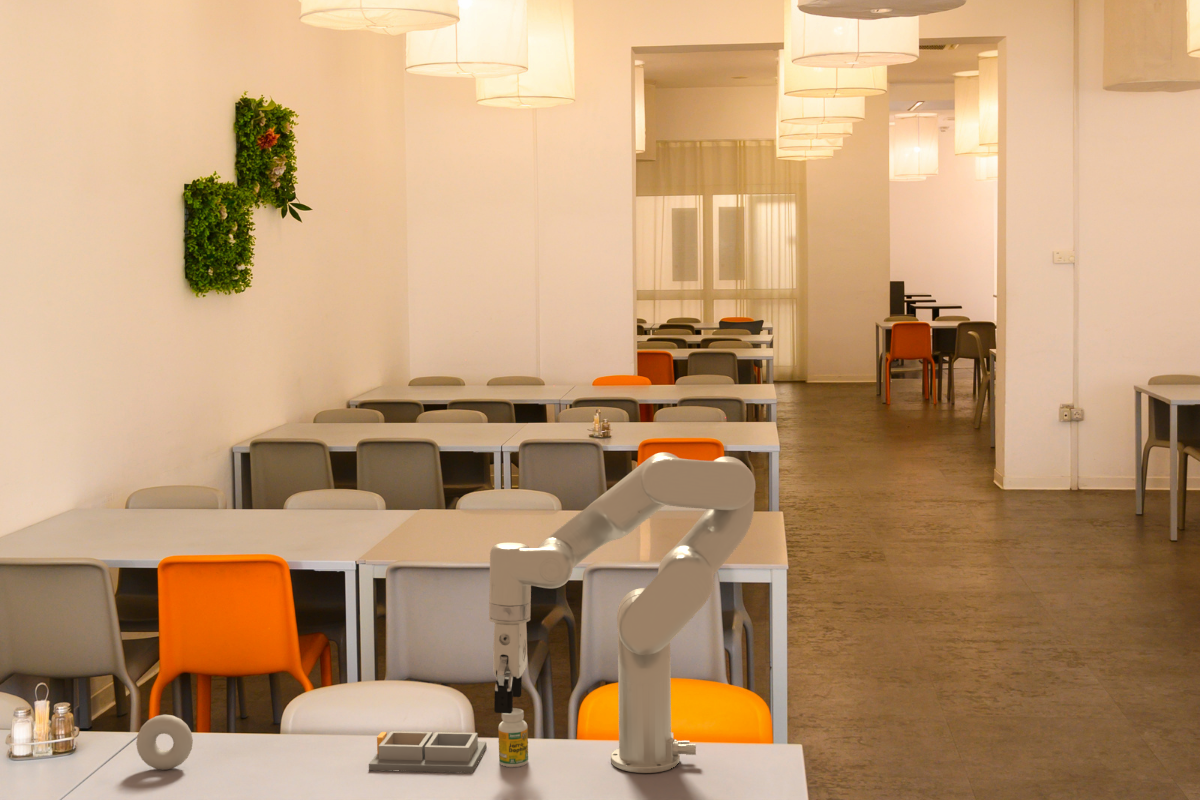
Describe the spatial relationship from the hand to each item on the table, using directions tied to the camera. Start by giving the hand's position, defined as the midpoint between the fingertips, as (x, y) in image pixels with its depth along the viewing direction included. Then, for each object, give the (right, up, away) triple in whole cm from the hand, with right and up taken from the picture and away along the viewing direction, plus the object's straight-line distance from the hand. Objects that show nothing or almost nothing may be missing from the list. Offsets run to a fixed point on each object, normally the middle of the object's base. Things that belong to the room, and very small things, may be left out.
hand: (508, 704), depth 215 cm
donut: (-62, -12, 0) cm, 64 cm away
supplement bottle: (+1, -11, +1) cm, 11 cm away
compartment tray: (-15, -11, +3) cm, 19 cm away
